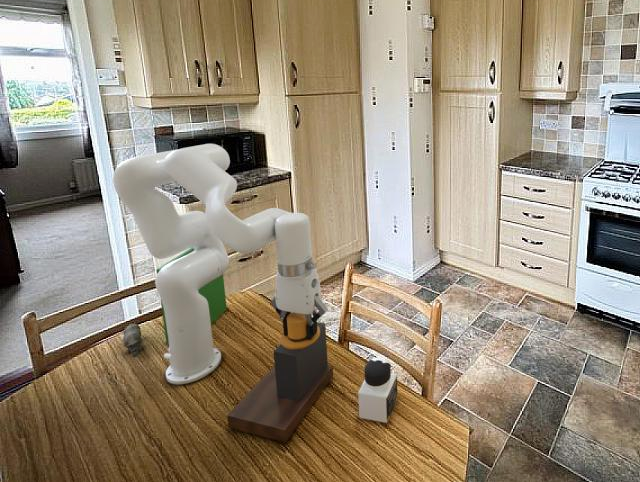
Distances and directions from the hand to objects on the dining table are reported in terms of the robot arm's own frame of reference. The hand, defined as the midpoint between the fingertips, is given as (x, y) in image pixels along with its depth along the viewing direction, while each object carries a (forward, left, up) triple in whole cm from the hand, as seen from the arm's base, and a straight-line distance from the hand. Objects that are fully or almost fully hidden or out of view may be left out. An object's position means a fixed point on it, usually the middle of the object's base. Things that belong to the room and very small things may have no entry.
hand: (300, 333), depth 91 cm
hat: (0, 0, -1) cm, 1 cm away
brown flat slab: (-3, -3, -17) cm, 17 cm away
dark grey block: (0, 0, -13) cm, 13 cm away
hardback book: (-50, +16, -17) cm, 55 cm away
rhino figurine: (-58, +2, -17) cm, 60 cm away
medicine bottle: (+20, +1, -17) cm, 26 cm away
